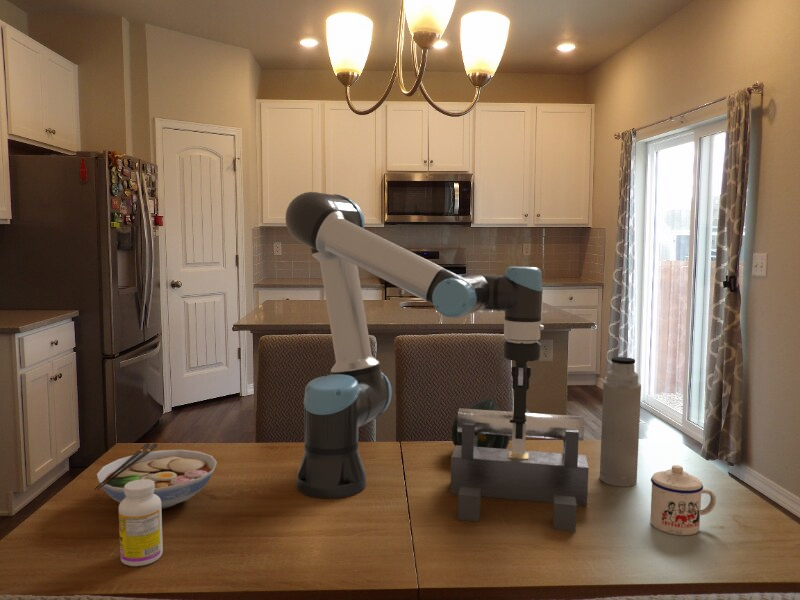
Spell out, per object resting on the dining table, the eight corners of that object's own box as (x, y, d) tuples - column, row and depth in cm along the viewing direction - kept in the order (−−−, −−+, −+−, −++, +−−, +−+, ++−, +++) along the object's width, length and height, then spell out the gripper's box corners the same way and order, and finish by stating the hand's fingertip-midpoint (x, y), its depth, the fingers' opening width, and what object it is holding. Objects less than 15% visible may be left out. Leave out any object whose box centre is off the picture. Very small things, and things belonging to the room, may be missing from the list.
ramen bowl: (191, 532, 117) (190, 489, 116) (69, 528, 118) (68, 485, 118) (233, 481, 142) (233, 445, 141) (133, 478, 143) (132, 442, 143)
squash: (433, 437, 158) (473, 396, 154) (452, 423, 172) (489, 385, 167) (473, 481, 155) (516, 440, 150) (489, 464, 168) (529, 426, 164)
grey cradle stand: (449, 495, 136) (451, 423, 134) (455, 478, 145) (456, 411, 144) (587, 507, 130) (590, 433, 129) (583, 489, 140) (586, 419, 138)
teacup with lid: (659, 536, 118) (662, 474, 117) (641, 515, 127) (644, 458, 126) (725, 537, 118) (729, 475, 117) (702, 516, 127) (706, 458, 126)
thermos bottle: (596, 473, 150) (601, 354, 147) (631, 474, 149) (636, 355, 146) (603, 485, 142) (608, 360, 139) (640, 487, 141) (646, 361, 139)
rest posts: (457, 519, 124) (458, 494, 123) (460, 511, 128) (460, 486, 127) (575, 531, 119) (576, 505, 119) (574, 522, 123) (575, 497, 123)
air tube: (457, 435, 137) (457, 411, 136) (459, 427, 142) (460, 405, 141) (583, 444, 132) (584, 420, 131) (581, 436, 137) (582, 413, 136)
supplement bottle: (128, 549, 111) (125, 476, 110) (167, 548, 111) (165, 476, 110) (114, 568, 104) (111, 492, 103) (156, 567, 105) (154, 491, 104)
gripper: (540, 348, 125) (536, 464, 127) (540, 334, 143) (536, 437, 145) (501, 346, 127) (498, 461, 129) (505, 333, 144) (503, 434, 146)
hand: (518, 448), depth 137 cm, fingers closed on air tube, 5 cm apart
